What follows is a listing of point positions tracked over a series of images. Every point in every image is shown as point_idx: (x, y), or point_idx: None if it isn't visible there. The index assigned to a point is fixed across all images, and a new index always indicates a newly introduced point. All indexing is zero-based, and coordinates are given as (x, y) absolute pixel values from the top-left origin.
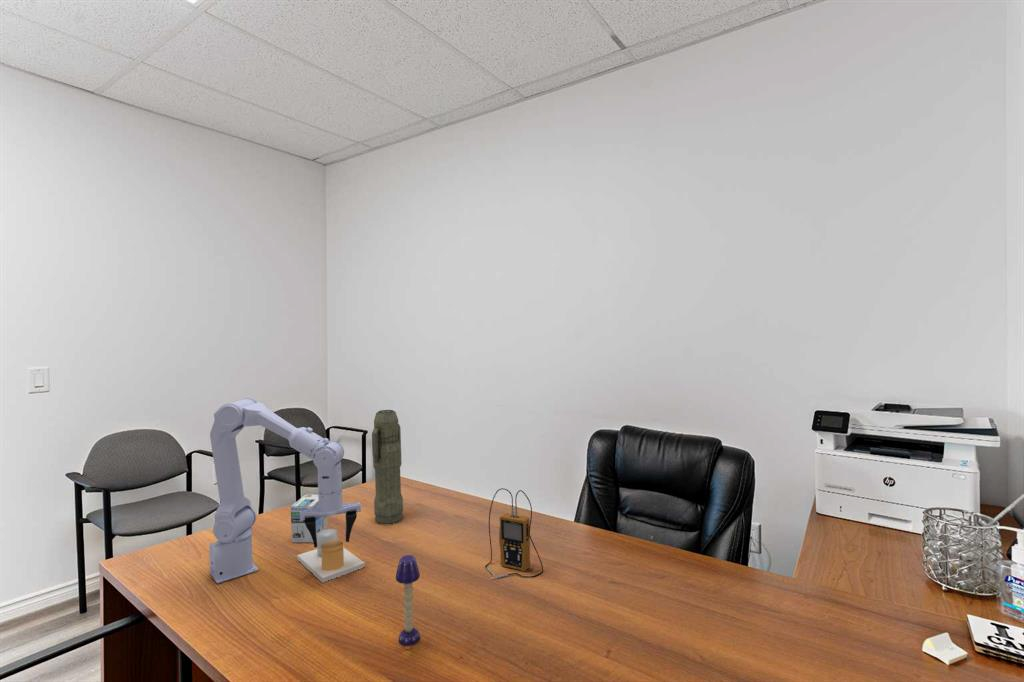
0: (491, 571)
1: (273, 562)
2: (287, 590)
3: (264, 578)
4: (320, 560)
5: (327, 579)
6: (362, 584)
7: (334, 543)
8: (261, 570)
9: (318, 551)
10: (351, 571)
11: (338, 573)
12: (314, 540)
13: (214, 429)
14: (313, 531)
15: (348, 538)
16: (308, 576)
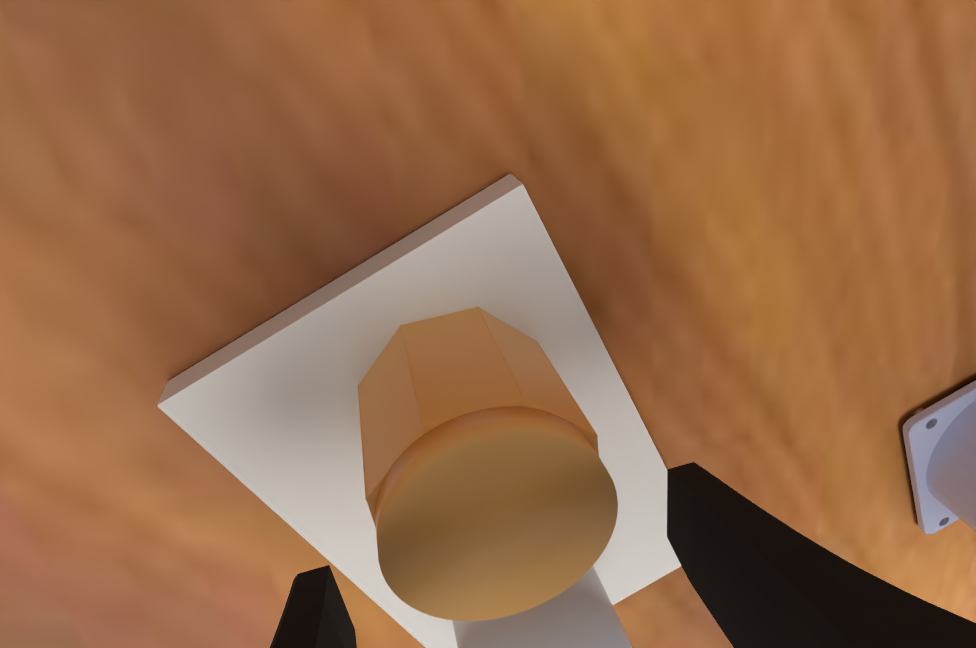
0: None
1: (813, 506)
2: (770, 111)
3: (881, 329)
4: None
5: (473, 202)
6: (76, 28)
7: (478, 554)
8: (881, 426)
9: None
10: (276, 317)
11: (384, 261)
12: (753, 517)
13: None
14: (880, 623)
15: (294, 607)
16: (623, 306)
